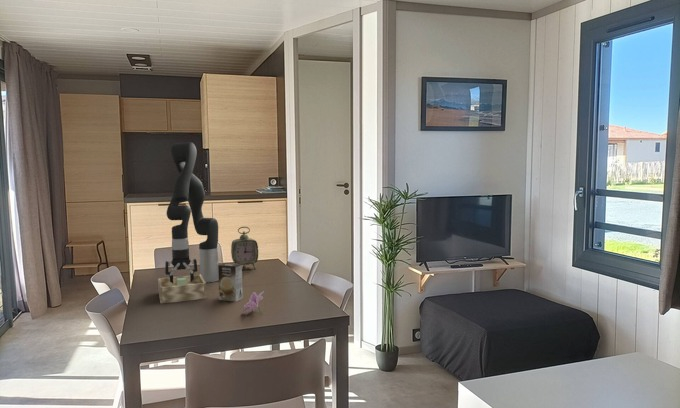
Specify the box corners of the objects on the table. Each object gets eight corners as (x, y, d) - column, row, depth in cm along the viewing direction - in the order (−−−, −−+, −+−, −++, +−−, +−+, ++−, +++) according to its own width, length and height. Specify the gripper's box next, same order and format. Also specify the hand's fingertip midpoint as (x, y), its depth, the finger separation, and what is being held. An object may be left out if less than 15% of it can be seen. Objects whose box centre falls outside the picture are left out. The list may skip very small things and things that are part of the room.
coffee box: (218, 300, 230) (217, 265, 228) (226, 296, 236) (224, 262, 234) (236, 301, 226) (235, 266, 225) (243, 298, 233) (242, 263, 231)
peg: (186, 294, 241) (185, 277, 240) (186, 296, 237) (186, 279, 237) (177, 295, 240) (176, 278, 239) (177, 297, 236) (177, 280, 235)
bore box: (201, 288, 251) (200, 274, 251) (206, 298, 233) (206, 283, 232) (158, 293, 244) (157, 278, 243) (160, 303, 225) (159, 287, 225)
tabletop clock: (233, 271, 290) (232, 228, 288) (231, 268, 298) (229, 226, 296) (258, 269, 295) (257, 226, 293) (255, 266, 303) (254, 225, 301)
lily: (268, 310, 216) (257, 290, 216) (277, 306, 206) (266, 285, 207) (243, 324, 209) (233, 304, 210) (252, 320, 199) (240, 299, 200)
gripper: (195, 245, 243) (196, 278, 244) (163, 247, 237) (165, 281, 239) (197, 247, 236) (198, 282, 237) (164, 250, 230) (166, 285, 232)
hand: (181, 282), depth 238 cm, fingers open, 8 cm apart
